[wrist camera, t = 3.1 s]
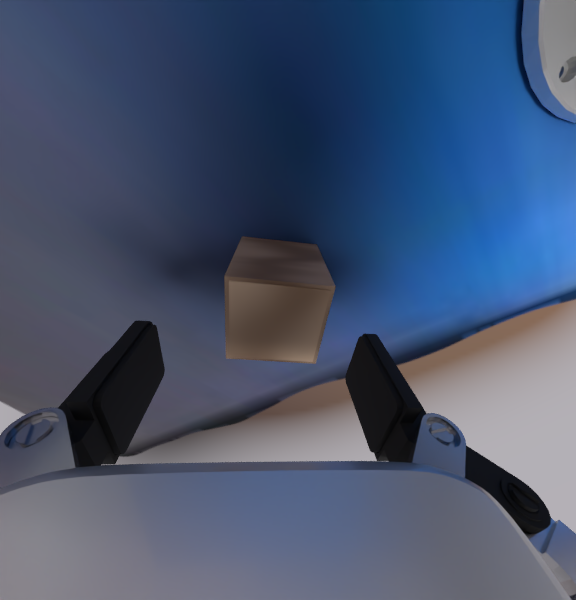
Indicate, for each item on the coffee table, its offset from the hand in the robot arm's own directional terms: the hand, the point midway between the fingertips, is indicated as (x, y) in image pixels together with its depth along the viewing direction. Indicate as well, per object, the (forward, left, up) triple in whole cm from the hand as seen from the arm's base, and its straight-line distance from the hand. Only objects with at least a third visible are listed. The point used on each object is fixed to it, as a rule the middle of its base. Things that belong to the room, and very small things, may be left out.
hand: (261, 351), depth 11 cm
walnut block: (-1, -1, -7) cm, 7 cm away
